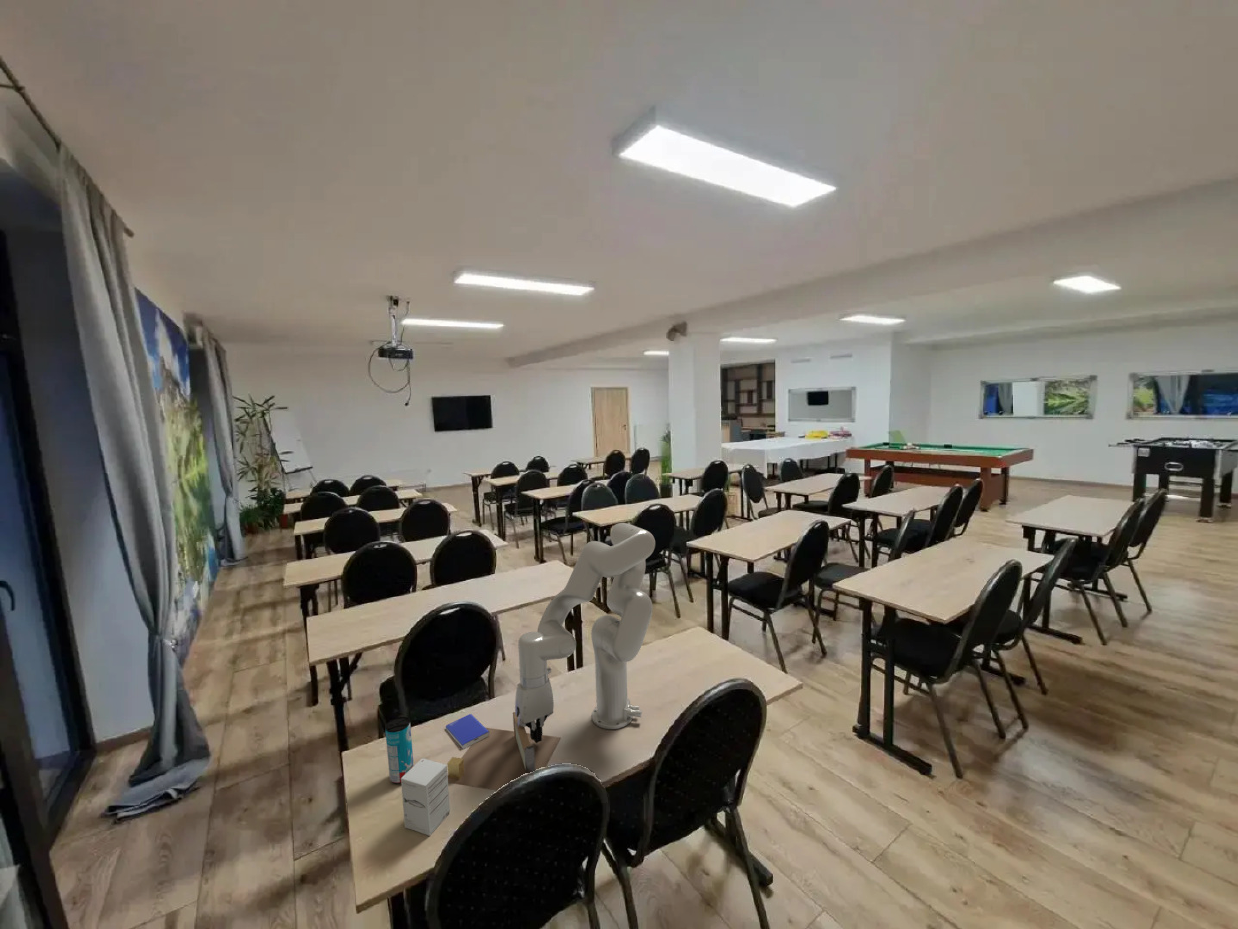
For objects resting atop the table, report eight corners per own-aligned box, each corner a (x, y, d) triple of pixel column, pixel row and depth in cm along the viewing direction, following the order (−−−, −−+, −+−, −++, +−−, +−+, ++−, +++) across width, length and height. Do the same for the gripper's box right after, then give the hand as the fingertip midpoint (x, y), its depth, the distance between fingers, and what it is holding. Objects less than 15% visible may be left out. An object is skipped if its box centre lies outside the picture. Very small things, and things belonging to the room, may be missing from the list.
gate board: (561, 739, 144) (561, 737, 144) (530, 798, 123) (530, 795, 123) (485, 729, 150) (484, 727, 150) (443, 783, 129) (443, 781, 128)
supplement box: (403, 828, 115) (399, 778, 114) (426, 804, 122) (422, 756, 120) (429, 837, 112) (425, 786, 111) (451, 812, 119) (447, 763, 118)
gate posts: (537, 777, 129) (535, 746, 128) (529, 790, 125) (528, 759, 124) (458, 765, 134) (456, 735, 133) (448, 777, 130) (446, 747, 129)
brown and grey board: (533, 773, 130) (531, 749, 129) (526, 775, 129) (524, 751, 128) (520, 732, 146) (519, 711, 145) (514, 734, 146) (512, 712, 145)
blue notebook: (445, 725, 150) (462, 744, 140) (471, 713, 155) (489, 730, 145) (445, 730, 150) (463, 749, 140) (471, 718, 155) (489, 735, 146)
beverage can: (413, 782, 129) (408, 728, 128) (388, 788, 128) (383, 733, 126) (415, 766, 135) (411, 714, 133) (391, 772, 133) (386, 719, 132)
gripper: (550, 664, 146) (553, 722, 149) (502, 681, 138) (506, 743, 140) (564, 674, 140) (566, 735, 143) (514, 693, 132) (518, 758, 134)
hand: (536, 739), depth 141 cm, fingers closed
